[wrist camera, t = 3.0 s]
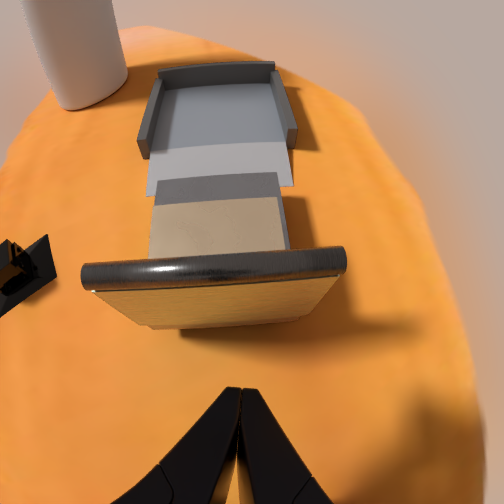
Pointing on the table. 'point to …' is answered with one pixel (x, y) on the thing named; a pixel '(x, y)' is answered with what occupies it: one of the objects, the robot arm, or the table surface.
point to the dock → (217, 122)
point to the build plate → (23, 271)
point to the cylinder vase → (77, 48)
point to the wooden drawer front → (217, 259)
